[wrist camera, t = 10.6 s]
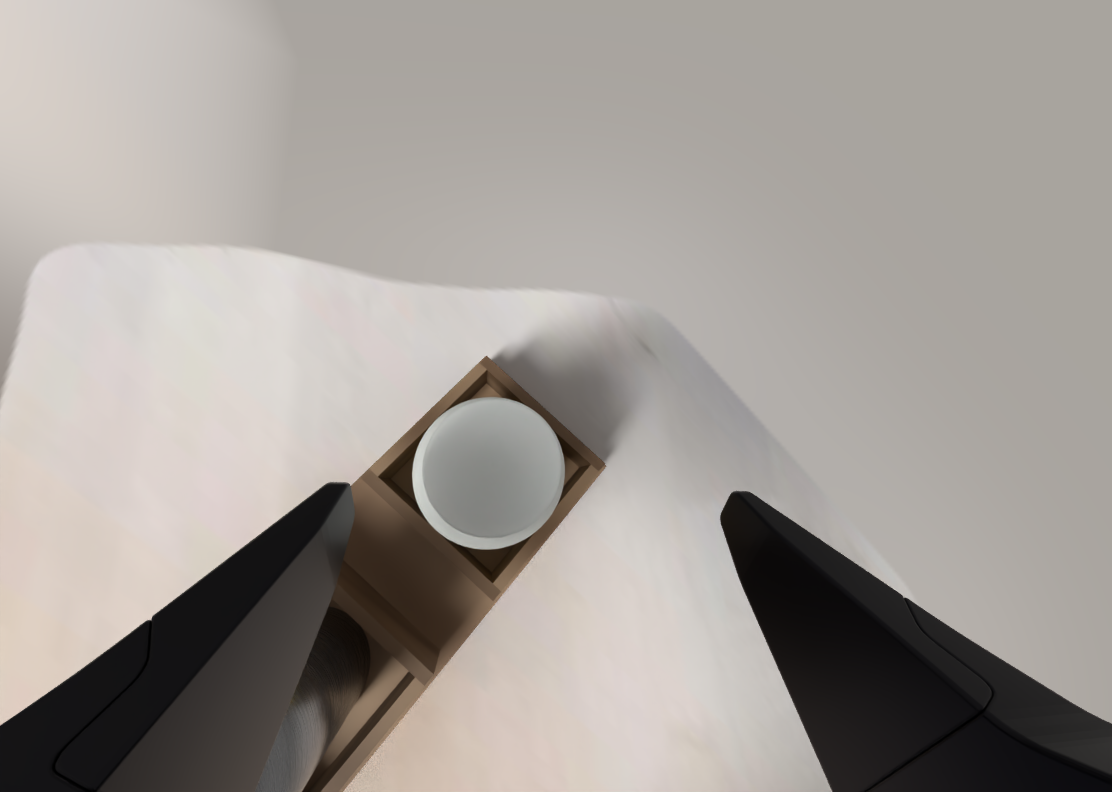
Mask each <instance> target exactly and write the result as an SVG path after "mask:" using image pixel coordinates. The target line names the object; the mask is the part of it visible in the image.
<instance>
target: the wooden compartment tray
mask: <svg viewBox="0 0 1112 792" xmlns="http://www.w3.org/2000/svg"><path fill="white" fill-rule="evenodd" d="M484 397H499V398H506V399H510V400H513V401H517V402H519V403H522V404H524V405H526V406H528V407H529V408H531V409H532V410H534V411H535V412H536V413H538V414H539V415H540V416H541V417H542V418H543V419H544V420H545V421H546V422H547V423H548V424H549V426H550V427H551V428H552V430H553V431H554V433H555V435H556V437H557V439H558V441H559V443H560V446H561V449H562V453H563V457H564V464H565V479H564V485H563V490H562V494H561V497H560V499H559V502H558V504H557V506H556V508H555V510H554V511H553V513H552V515H551V516H550V517H549V519H548V520H547V521H546V522H545V523H544V524H543V526H542V527H541V528H539V529H538V530H537V531H536V532H535V533H533V534H532V535H531V536H529V537H528V538H526V539H524V540H522V541H520V542H519V543H516V544H514V545H511V546H507V547H504V548H499V549H474V548H469V547H465V546H462V545H459V544H457V543H455V542H452V541H450V540H449V539H447V538H445V537H444V536H443V535H441V534H440V533H439V532H437V531H436V530H435V529H434V528H433V527H432V526H431V525H430V523H429V522H428V521H427V519H426V518H425V517H424V515H423V513H422V512H421V510H420V508H419V506H418V504H417V501H416V498H415V494H414V489H413V480H412V470H413V462H414V458H415V454H416V451H417V448H418V446H419V443H420V441H421V439H422V437H423V436H424V434H425V432H426V431H427V430H428V428H429V427H430V426H431V425H432V424H433V422H434V421H435V420H436V419H437V418H438V417H440V416H441V415H442V414H443V413H445V412H446V411H448V410H449V409H451V408H452V407H454V406H456V405H458V404H460V403H462V402H465V401H468V400H472V399H476V398H484ZM605 467H606V465H605V463H604V462H603V461H602V460H601V459H600V458H598V457H597V456H596V455H595V454H594V453H593V452H592V451H591V450H590V449H589V448H587V447H586V446H585V445H584V444H583V443H582V442H581V441H580V440H579V439H578V438H576V437H575V436H574V435H573V434H572V433H571V432H570V431H569V430H568V429H567V428H565V427H564V426H563V425H562V424H561V423H560V422H559V421H558V420H557V419H556V418H554V417H553V416H552V415H551V414H550V413H549V412H548V411H547V410H546V409H545V408H543V407H542V406H541V405H540V404H539V403H538V402H537V401H536V400H535V399H534V398H532V397H531V396H530V395H529V394H528V393H527V392H526V391H525V390H524V389H523V388H521V387H520V386H519V385H518V384H517V383H516V382H515V381H514V380H513V379H512V378H510V377H509V376H508V375H507V374H506V373H505V372H504V371H503V370H502V369H501V368H499V367H498V366H497V365H496V364H495V363H494V362H493V361H492V360H491V359H490V358H488V357H487V356H485V357H484V358H483V359H482V360H481V361H480V362H479V363H478V364H477V365H476V366H475V367H474V368H473V369H472V370H471V371H470V372H469V373H468V374H467V375H466V376H465V377H464V378H463V379H461V380H460V381H459V382H458V383H457V384H456V385H455V386H454V387H453V388H452V389H451V390H450V391H449V392H448V393H447V394H446V395H445V396H444V397H443V398H442V399H441V400H440V401H439V402H438V403H437V404H436V405H434V406H433V407H432V408H431V409H430V410H429V411H428V412H427V413H426V414H425V415H424V416H423V417H422V418H421V419H420V420H419V421H418V422H417V423H416V424H415V425H414V426H413V427H412V428H411V429H410V430H409V431H408V432H406V433H405V434H404V435H403V436H402V437H401V438H400V439H399V440H398V441H397V442H396V443H395V444H394V445H393V446H392V447H391V448H390V449H389V450H388V451H387V452H386V453H385V454H384V455H383V456H382V457H381V458H380V459H378V460H377V461H376V462H375V463H374V464H373V465H372V466H371V467H370V468H369V469H368V470H367V471H366V472H365V473H364V474H363V475H362V476H361V477H360V478H359V479H358V480H357V481H356V482H355V483H354V484H353V485H351V490H352V496H353V502H354V508H355V516H354V522H353V525H352V529H351V533H350V536H349V540H348V544H347V547H346V551H345V555H344V558H343V562H342V566H341V570H340V573H339V577H338V580H337V584H336V587H335V590H334V593H333V596H332V598H331V601H330V604H329V606H328V607H334V608H337V609H340V610H342V611H344V612H346V613H348V614H349V615H350V616H351V617H352V618H353V619H354V620H355V621H356V622H357V623H358V624H359V625H360V626H361V627H362V628H363V630H364V632H365V634H366V637H367V640H368V643H369V648H370V669H369V674H368V678H367V681H366V684H365V686H364V688H363V691H362V693H361V694H360V696H359V698H358V700H357V701H356V703H355V704H354V706H353V708H352V709H351V711H350V713H349V714H348V716H347V718H346V719H345V721H344V723H343V724H342V726H341V728H340V729H339V731H338V733H337V734H336V736H335V738H334V739H333V741H332V743H331V744H330V746H329V748H328V749H327V751H326V752H325V754H324V756H323V757H322V759H321V761H320V762H319V764H318V766H317V767H316V769H315V771H314V772H313V774H312V776H311V777H310V779H309V781H308V782H307V784H306V786H305V787H304V789H303V791H302V792H343V791H344V789H345V788H346V787H347V786H348V785H349V783H350V782H351V781H352V780H353V778H354V777H355V776H356V775H357V773H358V772H359V771H360V770H361V768H362V767H363V766H364V765H365V764H366V762H367V761H368V760H369V759H370V757H371V756H372V755H373V754H374V752H375V751H376V750H377V749H378V748H379V746H380V745H381V744H382V743H383V741H384V740H385V739H386V738H387V736H388V735H389V734H390V733H391V731H392V730H393V729H394V728H395V727H396V725H397V724H398V723H399V722H400V720H401V719H402V718H403V717H404V715H405V714H406V713H407V712H408V710H409V709H410V708H411V707H412V706H413V704H414V703H415V702H416V701H417V699H418V698H419V697H420V696H421V694H422V693H423V692H424V691H425V690H426V688H427V687H428V686H429V685H430V683H431V682H432V681H433V680H434V678H435V677H436V676H437V675H438V673H439V672H440V671H441V670H442V669H443V667H444V666H445V665H446V664H447V662H448V661H449V660H450V659H451V657H452V656H453V655H454V654H455V652H456V651H457V650H458V649H459V648H460V646H461V645H462V644H463V643H464V641H465V640H466V639H467V638H468V636H469V635H470V634H471V633H472V631H473V630H474V629H475V628H476V627H477V625H478V624H479V623H480V622H481V620H482V619H483V618H484V617H485V615H486V614H487V613H488V612H489V611H490V609H491V608H492V607H493V606H494V604H495V603H496V602H497V601H498V599H499V598H500V597H501V596H502V594H503V593H504V592H505V591H506V590H507V588H508V587H509V586H510V585H511V583H512V582H513V581H514V580H515V578H516V577H517V576H518V575H519V573H520V572H521V571H522V570H523V569H524V567H525V566H526V565H527V564H528V562H529V561H530V560H531V559H532V557H533V556H534V555H535V554H536V552H537V551H538V550H539V549H540V548H541V546H542V545H543V544H544V543H545V541H546V540H547V539H548V538H549V536H550V535H551V534H552V533H553V532H554V530H555V529H556V528H557V527H558V525H559V524H560V523H561V522H562V520H563V519H564V518H565V517H566V515H567V514H568V513H569V512H570V511H571V509H572V508H573V507H574V506H575V504H576V503H577V502H578V501H579V499H580V498H581V497H582V496H583V494H584V493H585V492H586V491H587V490H588V488H589V487H590V486H591V485H592V483H593V482H594V481H595V480H596V478H597V477H598V476H599V475H600V473H601V472H602V471H603V470H604V469H605Z"/></svg>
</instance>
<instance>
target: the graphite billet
mask: <svg viewBox="0 0 1112 792" xmlns="http://www.w3.org/2000/svg"><path fill="white" fill-rule="evenodd" d="M369 669H370V648H369V643H368V640H367V637H366V634H365V632H364V630H363V628H362V627H361V626H360V625H359V624H358V623H357V622H356V621H355V620H354V619H353V618H352V617H351V616H350V615H349V614H348V613H346V612H344V611H342V610H340V609H337V608H334V607H328V609H327V611H326V614H325V616H324V619H323V621H322V624H321V626H320V629H319V631H318V634H317V636H316V639H315V641H314V644H313V646H312V649H311V652H310V654H309V657H308V659H307V662H306V664H305V667H304V669H303V672H302V674H301V677H300V679H299V682H298V684H297V687H296V689H295V692H294V694H293V697H292V699H291V702H290V704H289V707H288V709H287V712H286V714H285V717H284V719H283V722H282V724H281V727H280V730H279V732H278V735H277V737H276V740H275V742H274V745H273V747H272V750H271V752H270V755H269V757H268V760H267V762H266V765H265V767H264V770H263V772H262V775H261V777H260V780H259V782H258V785H257V787H256V790H255V792H302V791H303V789H304V787H305V786H306V784H307V782H308V781H309V779H310V777H311V776H312V774H313V772H314V771H315V769H316V767H317V766H318V764H319V762H320V761H321V759H322V757H323V756H324V754H325V752H326V751H327V749H328V748H329V746H330V744H331V743H332V741H333V739H334V738H335V736H336V734H337V733H338V731H339V729H340V728H341V726H342V724H343V723H344V721H345V719H346V718H347V716H348V714H349V713H350V711H351V709H352V708H353V706H354V704H355V703H356V701H357V700H358V698H359V696H360V694H361V693H362V691H363V688H364V686H365V684H366V681H367V678H368V674H369Z"/></svg>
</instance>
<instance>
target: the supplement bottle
mask: <svg viewBox="0 0 1112 792" xmlns="http://www.w3.org/2000/svg"><path fill="white" fill-rule="evenodd" d="M564 479H565V464H564V457H563V453H562V449H561V446H560V443H559V441H558V439H557V437H556V435H555V433H554V431H553V430H552V428H551V427H550V426H549V424H548V423H547V422H546V421H545V420H544V419H543V418H542V417H541V416H540V415H539V414H538V413H536V412H535V411H534V410H532V409H531V408H529V407H528V406H526V405H524V404H522V403H519V402H517V401H513V400H510V399H506V398H499V397H484V398H476V399H472V400H468V401H465V402H462V403H460V404H458V405H456V406H454V407H452V408H451V409H449V410H448V411H446V412H445V413H443V414H442V415H441V416H440V417H438V418H437V419H436V420H435V421H434V422H433V424H432V425H431V426H430V427H429V428H428V430H427V431H426V432H425V434H424V436H423V437H422V439H421V441H420V443H419V446H418V448H417V451H416V454H415V458H414V462H413V470H412V480H413V489H414V494H415V498H416V501H417V504H418V506H419V508H420V510H421V512H422V513H423V515H424V517H425V518H426V519H427V521H428V522H429V523H430V525H431V526H432V527H433V528H434V529H435V530H436V531H437V532H439V533H440V534H441V535H443V536H444V537H445V538H447V539H449V540H450V541H452V542H455V543H457V544H459V545H462V546H465V547H469V548H474V549H499V548H504V547H507V546H511V545H514V544H516V543H519V542H520V541H522V540H524V539H526V538H528V537H529V536H531V535H532V534H533V533H535V532H536V531H537V530H538V529H539V528H541V527H542V526H543V524H544V523H545V522H546V521H547V520H548V519H549V517H550V516H551V515H552V513H553V511H554V510H555V508H556V506H557V504H558V502H559V499H560V497H561V494H562V490H563V485H564Z"/></svg>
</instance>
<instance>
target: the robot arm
mask: <svg viewBox="0 0 1112 792" xmlns="http://www.w3.org/2000/svg"><path fill="white" fill-rule="evenodd" d="M354 516H355V508H354V502H353V496H352V490H351V486H350V484H349V483H346V482H330V483H327V484H325V485H324V486H323V487H321V488H320V489H319V490H317V491H316V492H315V493H313V494H312V495H311V496H310V497H308V498H307V499H306V500H304V501H303V502H302V503H300V504H299V505H298V506H296V507H295V508H294V509H292V510H291V511H290V512H289V513H287V514H286V515H285V516H283V517H282V518H281V519H279V520H278V521H277V522H275V523H274V524H273V525H271V526H270V527H269V528H268V529H266V530H265V531H264V532H262V533H261V534H260V535H258V536H257V537H256V538H254V539H253V540H252V541H250V542H249V543H248V544H247V545H245V546H244V547H243V548H241V549H240V550H239V551H237V552H236V553H235V554H233V555H232V556H231V557H229V558H228V559H227V560H226V561H224V562H223V563H222V564H220V565H219V566H218V567H216V568H215V569H214V570H212V571H211V572H210V573H208V574H207V575H206V576H205V577H203V578H202V579H201V580H199V581H198V582H197V583H195V584H194V585H193V586H191V587H190V588H189V589H187V590H186V591H185V592H184V593H182V594H181V595H180V596H178V597H177V598H176V599H174V600H173V601H172V602H170V603H169V604H168V605H166V606H165V607H164V608H163V609H161V610H160V611H159V612H157V613H156V614H155V615H153V617H152V620H147V621H145V622H144V623H143V624H141V625H140V626H139V627H137V628H136V629H135V630H133V631H132V632H131V633H129V634H128V635H127V636H126V637H124V638H123V639H122V640H120V641H119V642H118V643H116V644H115V645H114V646H112V647H111V648H109V649H108V650H107V651H105V652H104V653H103V654H101V655H100V656H99V657H97V658H96V659H95V660H93V661H92V662H90V663H89V664H88V665H86V666H85V667H84V668H82V669H81V670H80V671H78V672H77V673H76V674H74V675H73V676H71V677H70V678H68V679H67V680H65V681H64V682H63V683H61V684H60V685H58V686H57V687H55V688H54V689H53V690H51V691H50V692H48V693H47V694H45V695H44V696H43V697H41V698H40V699H38V700H37V701H35V702H34V703H32V704H31V705H30V706H28V707H27V708H25V709H24V710H22V711H21V712H19V713H18V714H17V715H15V716H14V717H12V718H11V719H9V720H8V721H6V722H5V723H3V724H2V725H0V792H255V790H256V787H257V785H258V782H259V780H260V777H261V775H262V772H263V770H264V767H265V765H266V762H267V760H268V757H269V755H270V752H271V750H272V747H273V745H274V742H275V740H276V737H277V735H278V732H279V730H280V727H281V724H282V722H283V719H284V717H285V714H286V712H287V709H288V707H289V704H290V702H291V699H292V697H293V694H294V692H295V689H296V687H297V684H298V682H299V679H300V677H301V674H302V672H303V669H304V667H305V664H306V662H307V659H308V657H309V654H310V652H311V649H312V646H313V644H314V641H315V639H316V636H317V634H318V631H319V629H320V626H321V624H322V621H323V619H324V616H325V614H326V611H327V609H328V606H329V604H330V601H331V598H332V596H333V593H334V590H335V587H336V584H337V580H338V577H339V573H340V570H341V566H342V562H343V558H344V555H345V551H346V547H347V544H348V540H349V536H350V533H351V529H352V525H353V522H354ZM720 521H721V526H722V529H723V532H724V535H725V538H726V541H727V544H728V547H729V550H730V553H731V556H732V559H733V562H734V565H735V568H736V571H737V574H738V577H739V579H740V582H741V584H742V587H743V589H744V592H745V594H746V596H747V598H748V601H749V603H750V605H751V608H752V610H753V612H754V614H755V617H756V619H757V621H758V624H759V626H760V628H761V630H762V633H763V635H764V637H765V639H766V642H767V644H768V646H769V649H770V651H771V653H772V655H773V658H774V660H775V662H776V664H777V667H778V669H779V671H780V674H781V676H782V678H783V680H784V683H785V685H786V687H787V689H788V692H789V694H790V696H791V699H792V701H793V703H794V705H795V708H796V710H797V712H798V714H799V717H800V719H801V721H802V724H803V726H804V728H805V730H806V733H807V735H808V737H809V739H810V742H811V744H812V746H813V749H814V751H815V753H816V755H817V758H818V760H819V762H820V764H821V767H822V769H823V771H824V774H825V776H826V778H827V780H828V783H829V785H830V787H831V789H832V792H1112V724H1111V723H1109V722H1107V721H1104V720H1102V719H1100V718H1098V717H1096V716H1095V715H1093V714H1091V713H1089V712H1087V711H1085V710H1083V709H1082V708H1080V707H1078V706H1076V705H1075V704H1073V703H1071V702H1069V701H1068V700H1066V699H1065V698H1063V697H1062V696H1060V695H1058V694H1057V693H1055V692H1054V691H1052V690H1050V689H1048V688H1047V687H1045V686H1044V685H1042V684H1041V683H1039V682H1037V681H1036V680H1034V679H1032V678H1031V677H1029V676H1027V675H1026V674H1024V673H1023V672H1021V671H1019V670H1018V669H1016V668H1015V667H1013V666H1011V665H1010V664H1008V663H1006V662H1005V661H1003V660H1002V659H1000V658H998V657H997V656H995V655H994V654H992V653H990V652H989V651H987V650H985V649H984V648H982V647H981V646H979V645H977V644H976V643H974V642H972V641H971V640H969V639H968V638H966V637H965V636H963V635H962V634H960V633H958V632H957V631H955V630H954V629H952V628H951V627H949V626H948V625H946V624H944V623H943V622H942V621H940V620H938V619H937V618H935V617H934V616H932V615H931V614H930V613H928V612H926V611H925V610H924V609H922V608H921V607H919V606H918V605H916V604H915V603H913V602H912V601H910V600H909V599H907V598H904V597H903V596H902V595H901V594H900V593H898V592H897V591H895V590H894V589H892V588H891V587H890V586H888V585H887V584H885V583H884V582H882V581H881V580H879V579H878V578H876V577H875V576H873V575H872V574H870V573H869V572H867V571H866V570H864V569H863V568H861V567H860V566H858V565H857V564H856V563H854V562H853V561H851V560H850V559H848V558H847V557H845V556H844V555H842V554H841V553H839V552H838V551H836V550H835V549H833V548H832V547H830V546H829V545H827V544H826V543H825V542H823V541H822V540H820V539H819V538H817V537H816V536H814V535H813V534H811V533H810V532H808V531H807V530H805V529H804V528H802V527H801V526H799V525H798V524H796V523H795V522H793V521H792V520H791V519H789V518H788V517H786V516H785V515H783V514H782V513H780V512H779V511H777V510H776V509H774V508H773V507H771V506H770V505H768V504H767V503H765V502H764V501H762V500H761V499H760V498H758V497H757V496H755V495H754V494H752V493H750V492H747V491H734V492H732V493H731V494H730V496H729V498H728V500H727V502H726V504H725V506H724V508H723V510H722V512H721V516H720Z"/></svg>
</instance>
